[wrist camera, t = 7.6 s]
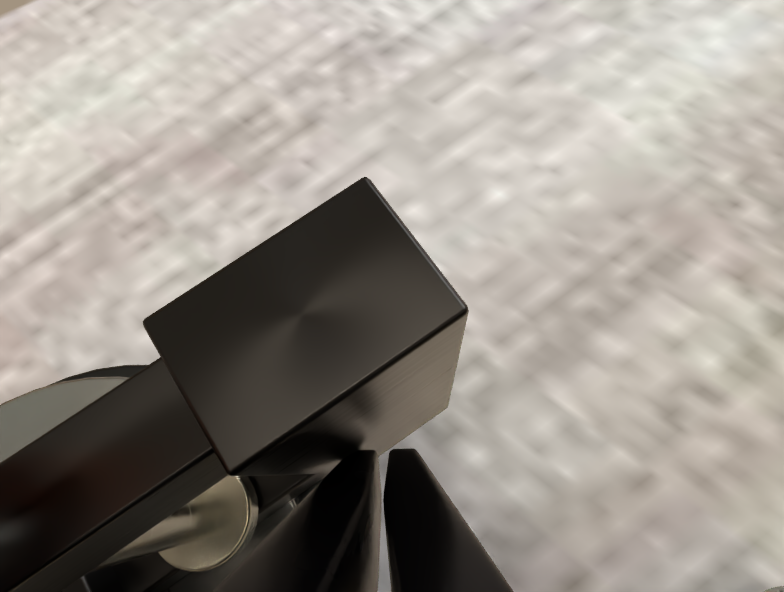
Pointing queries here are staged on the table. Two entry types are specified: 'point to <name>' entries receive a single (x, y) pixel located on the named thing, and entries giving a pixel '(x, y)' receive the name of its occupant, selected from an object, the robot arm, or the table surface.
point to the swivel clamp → (230, 408)
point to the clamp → (776, 589)
